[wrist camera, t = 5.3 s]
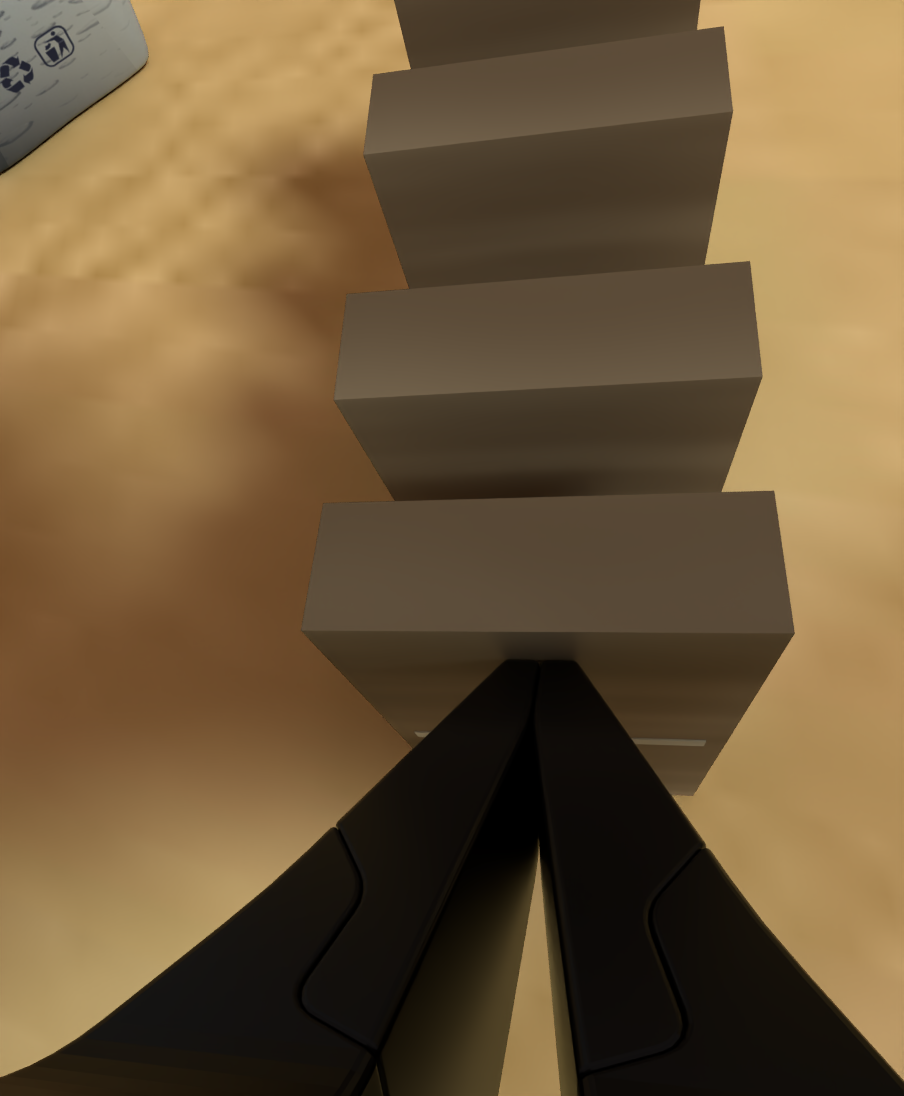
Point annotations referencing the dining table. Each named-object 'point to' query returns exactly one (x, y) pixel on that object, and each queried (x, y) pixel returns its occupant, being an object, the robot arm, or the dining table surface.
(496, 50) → the domino
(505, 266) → the domino
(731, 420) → the domino
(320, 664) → the dining table surface
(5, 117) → the juice carton
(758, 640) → the domino
